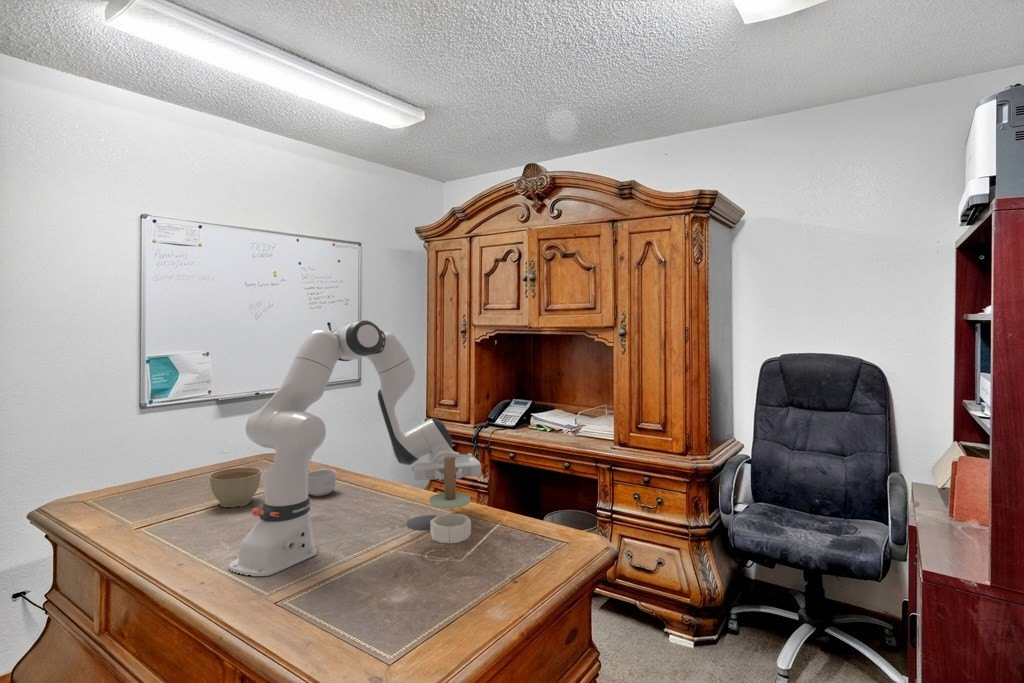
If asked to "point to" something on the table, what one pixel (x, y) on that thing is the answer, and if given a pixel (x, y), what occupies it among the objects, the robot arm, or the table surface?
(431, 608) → the table surface
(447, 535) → the bowl
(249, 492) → the planter bowl
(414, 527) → the mat
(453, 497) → the peg stand
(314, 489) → the teacup
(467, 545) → the table surface
